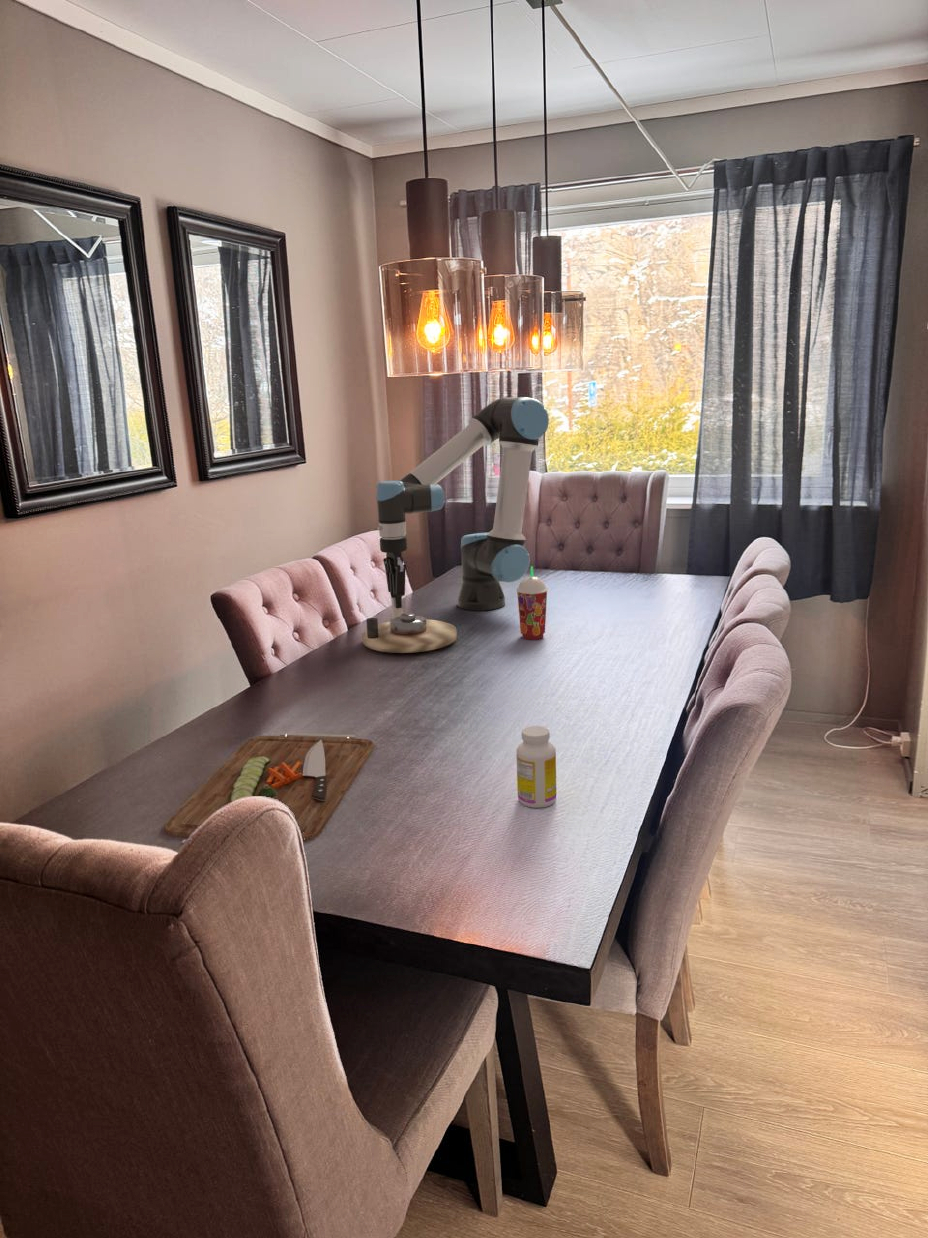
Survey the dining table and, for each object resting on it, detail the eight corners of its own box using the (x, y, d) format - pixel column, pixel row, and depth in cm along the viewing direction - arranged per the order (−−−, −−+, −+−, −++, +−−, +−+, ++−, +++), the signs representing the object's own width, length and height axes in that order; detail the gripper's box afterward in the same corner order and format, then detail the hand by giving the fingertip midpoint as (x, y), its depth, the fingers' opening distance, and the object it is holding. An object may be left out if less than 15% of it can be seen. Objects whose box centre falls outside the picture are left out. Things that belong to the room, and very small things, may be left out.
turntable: (436, 621, 263) (435, 598, 261) (471, 643, 239) (470, 618, 238) (351, 633, 253) (349, 609, 251) (379, 658, 230) (377, 632, 228)
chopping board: (257, 736, 187) (255, 722, 186) (381, 740, 182) (380, 726, 181) (150, 845, 144) (148, 828, 143) (309, 854, 139) (308, 836, 139)
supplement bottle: (553, 790, 156) (553, 722, 153) (558, 808, 150) (558, 737, 146) (515, 792, 156) (514, 724, 153) (519, 810, 150) (517, 739, 146)
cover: (419, 624, 253) (418, 608, 252) (431, 632, 244) (431, 616, 243) (385, 628, 249) (384, 613, 248) (397, 637, 240) (396, 621, 239)
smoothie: (548, 632, 251) (547, 563, 246) (547, 641, 243) (547, 569, 238) (518, 632, 252) (517, 563, 247) (517, 641, 244) (515, 570, 239)
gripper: (372, 534, 253) (378, 615, 259) (387, 541, 241) (393, 625, 248) (397, 532, 256) (402, 611, 262) (413, 538, 244) (418, 621, 251)
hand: (398, 618), depth 255 cm, fingers closed
